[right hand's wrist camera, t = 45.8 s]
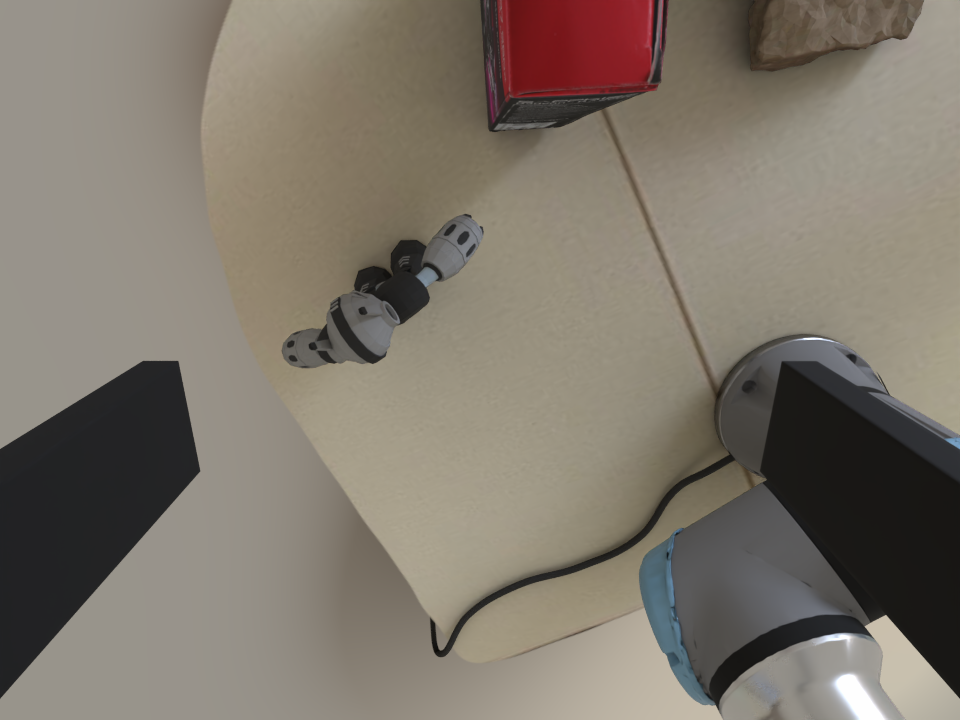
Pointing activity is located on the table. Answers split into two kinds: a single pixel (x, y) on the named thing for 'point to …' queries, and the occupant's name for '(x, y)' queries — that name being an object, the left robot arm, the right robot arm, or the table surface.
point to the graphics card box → (568, 57)
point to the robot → (384, 299)
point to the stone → (823, 28)
